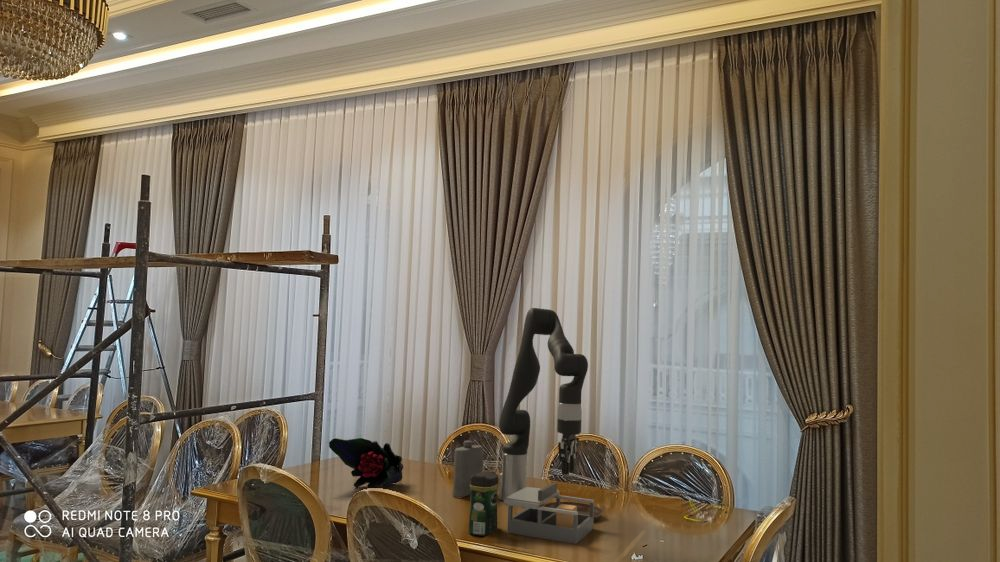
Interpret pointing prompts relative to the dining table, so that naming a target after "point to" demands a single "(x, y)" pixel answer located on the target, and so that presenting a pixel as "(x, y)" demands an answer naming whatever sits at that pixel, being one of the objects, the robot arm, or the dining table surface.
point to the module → (565, 516)
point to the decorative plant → (369, 461)
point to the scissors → (695, 511)
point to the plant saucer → (580, 508)
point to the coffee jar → (483, 503)
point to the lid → (532, 496)
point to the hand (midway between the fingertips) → (567, 472)
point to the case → (551, 522)
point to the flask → (466, 467)
